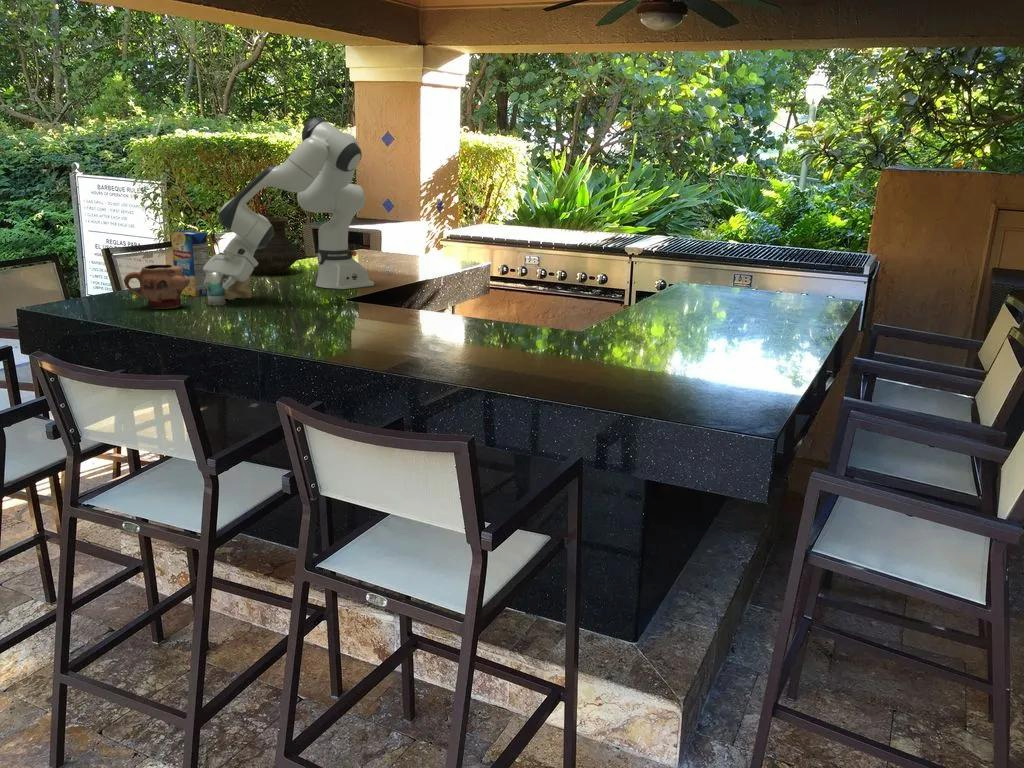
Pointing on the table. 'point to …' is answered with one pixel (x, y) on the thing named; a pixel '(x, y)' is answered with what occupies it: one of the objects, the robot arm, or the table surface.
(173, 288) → the decorative planter
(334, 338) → the table surface
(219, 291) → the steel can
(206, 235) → the beverage box
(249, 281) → the oak block
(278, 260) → the ceramic pot
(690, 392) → the table surface
